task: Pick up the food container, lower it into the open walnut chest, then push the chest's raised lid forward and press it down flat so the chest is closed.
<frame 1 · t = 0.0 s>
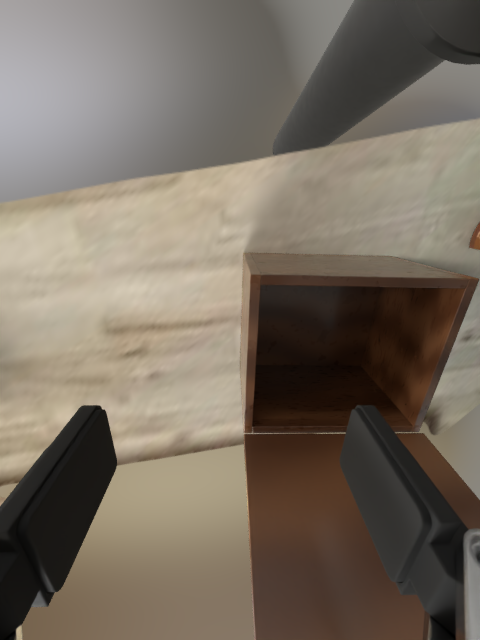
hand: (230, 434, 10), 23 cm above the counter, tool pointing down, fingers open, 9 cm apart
chest: (309, 315, 33), on the counter
lid: (379, 537, 17), point 20 cm above the counter, hinge at 92.0°
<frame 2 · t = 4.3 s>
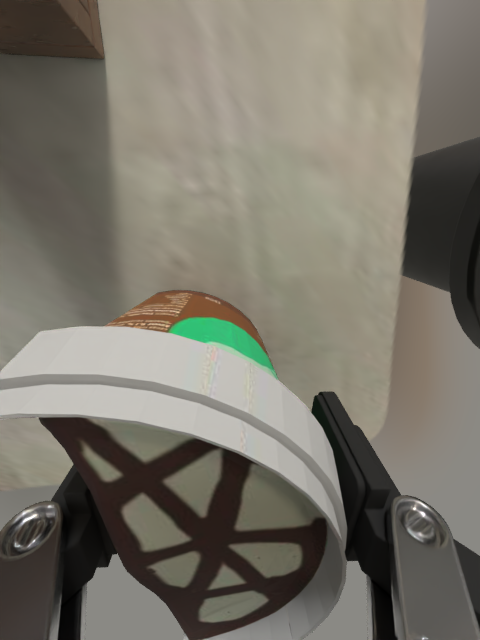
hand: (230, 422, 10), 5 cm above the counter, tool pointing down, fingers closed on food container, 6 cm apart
food container: (233, 354, 15), on the counter, touching gripper
when the fingers open (6 cm above the counter, at t = 13.6 s): food container stays where it is, resting on chest.
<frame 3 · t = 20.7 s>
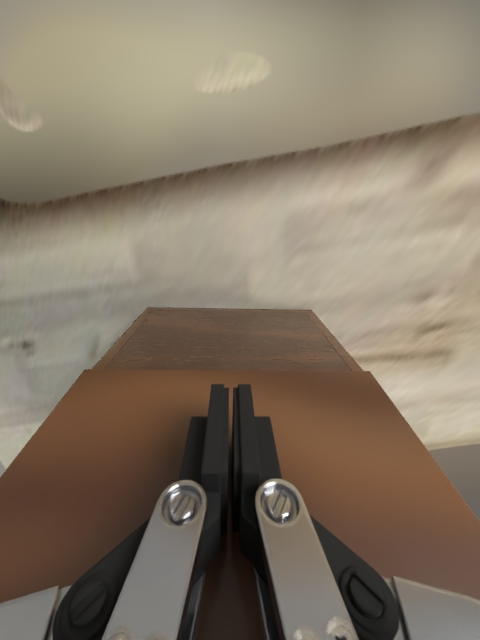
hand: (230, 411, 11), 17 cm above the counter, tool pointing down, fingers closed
chest: (229, 370, 30), on the counter
lid: (229, 536, 9), point 20 cm above the counter, hinge at 83.7°, touching gripper
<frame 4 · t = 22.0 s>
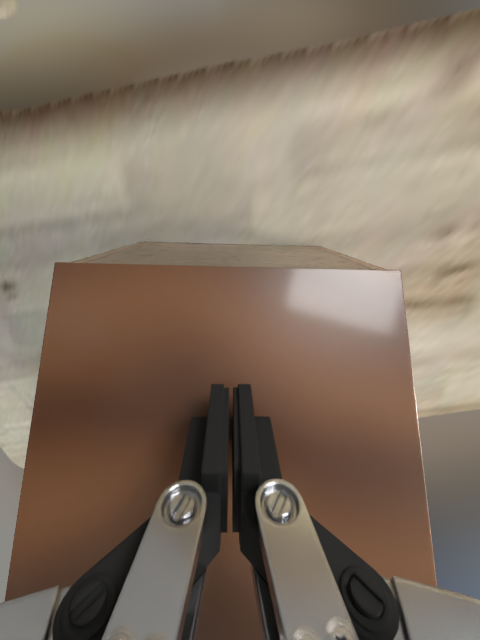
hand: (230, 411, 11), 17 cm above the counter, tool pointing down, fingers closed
chest: (230, 318, 28), on the counter
lid: (230, 436, 12), point 17 cm above the counter, hinge at 33.0°, touching gripper
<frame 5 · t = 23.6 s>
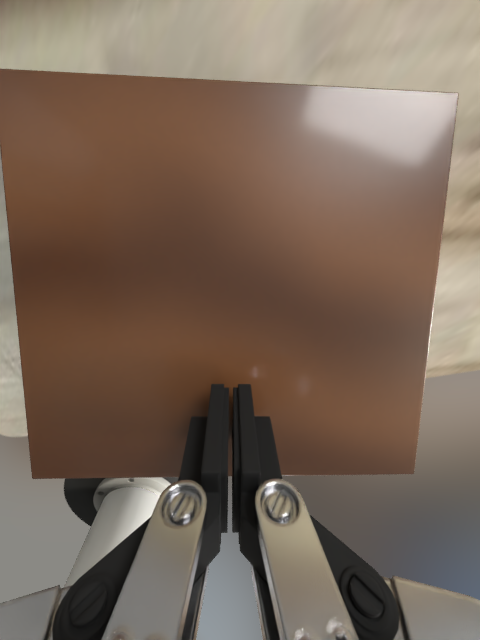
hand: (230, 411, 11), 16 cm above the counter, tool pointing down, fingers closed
lid: (231, 298, 11), point 14 cm above the counter, hinge at 14.9°, touching gripper
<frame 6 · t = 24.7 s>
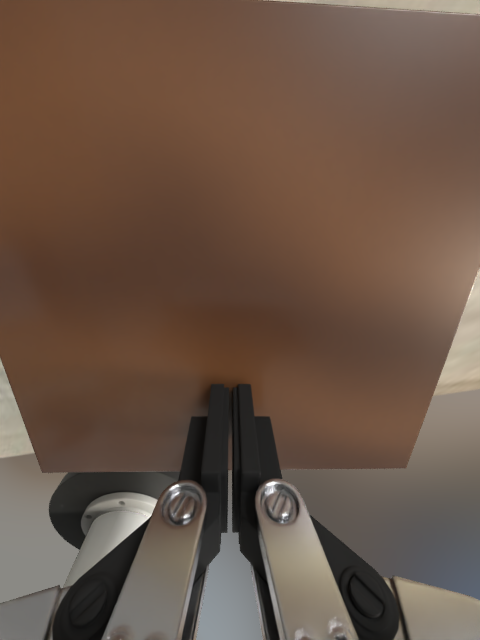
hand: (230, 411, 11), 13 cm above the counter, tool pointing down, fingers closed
lid: (231, 307, 10), point 12 cm above the counter, hinge at 1.1°, touching gripper
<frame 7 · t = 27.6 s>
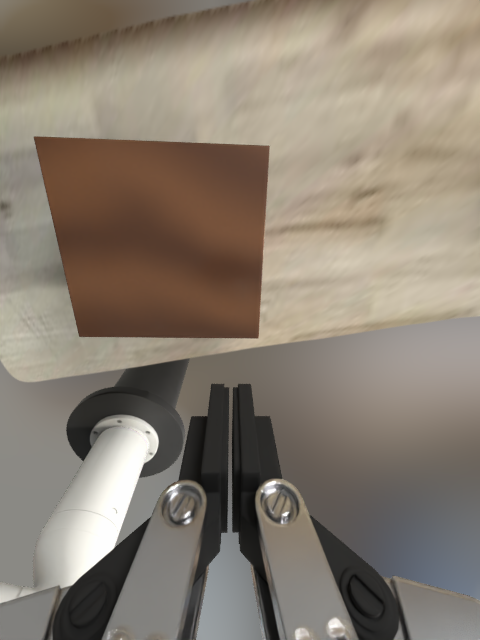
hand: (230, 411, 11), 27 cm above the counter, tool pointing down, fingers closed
lid: (164, 252, 22), point 12 cm above the counter, hinge at 1.1°
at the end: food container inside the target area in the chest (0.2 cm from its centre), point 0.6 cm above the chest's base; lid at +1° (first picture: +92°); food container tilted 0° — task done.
